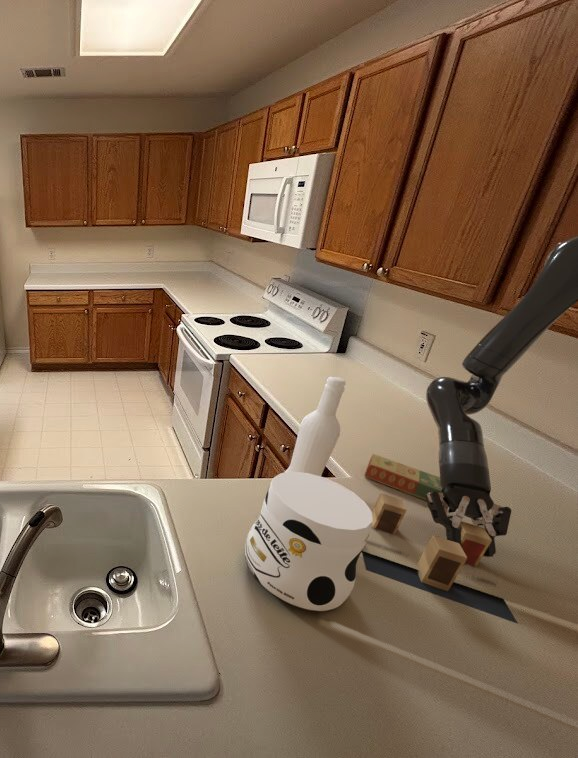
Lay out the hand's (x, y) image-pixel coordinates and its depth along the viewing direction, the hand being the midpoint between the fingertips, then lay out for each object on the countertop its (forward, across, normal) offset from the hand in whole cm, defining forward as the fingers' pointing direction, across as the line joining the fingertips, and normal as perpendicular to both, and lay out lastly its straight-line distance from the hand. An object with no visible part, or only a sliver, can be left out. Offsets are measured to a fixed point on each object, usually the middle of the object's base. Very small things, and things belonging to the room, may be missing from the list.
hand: (471, 552), depth 79 cm
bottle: (-7, -27, +14) cm, 31 cm away
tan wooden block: (-1, -12, +7) cm, 14 cm away
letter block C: (+2, 0, +4) cm, 5 cm away
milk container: (+14, -34, -8) cm, 38 cm away
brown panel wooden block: (+7, -9, -2) cm, 11 cm away
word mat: (+8, -9, -2) cm, 12 cm away
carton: (-18, +1, +24) cm, 30 cm away
